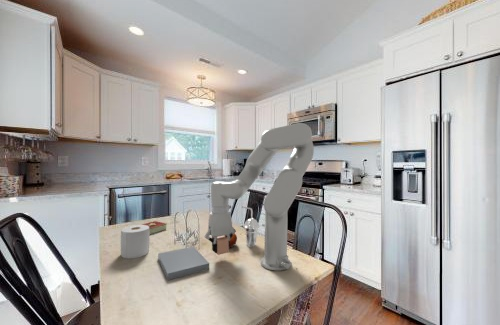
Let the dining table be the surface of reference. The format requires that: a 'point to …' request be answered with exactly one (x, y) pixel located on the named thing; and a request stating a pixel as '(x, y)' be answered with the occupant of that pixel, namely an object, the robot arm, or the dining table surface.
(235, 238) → the fruit
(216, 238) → the robot arm
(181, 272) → the slate board
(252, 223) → the cup with straw
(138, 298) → the dining table surface
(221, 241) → the terracotta block
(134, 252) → the toilet paper roll
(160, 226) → the hardcover book
